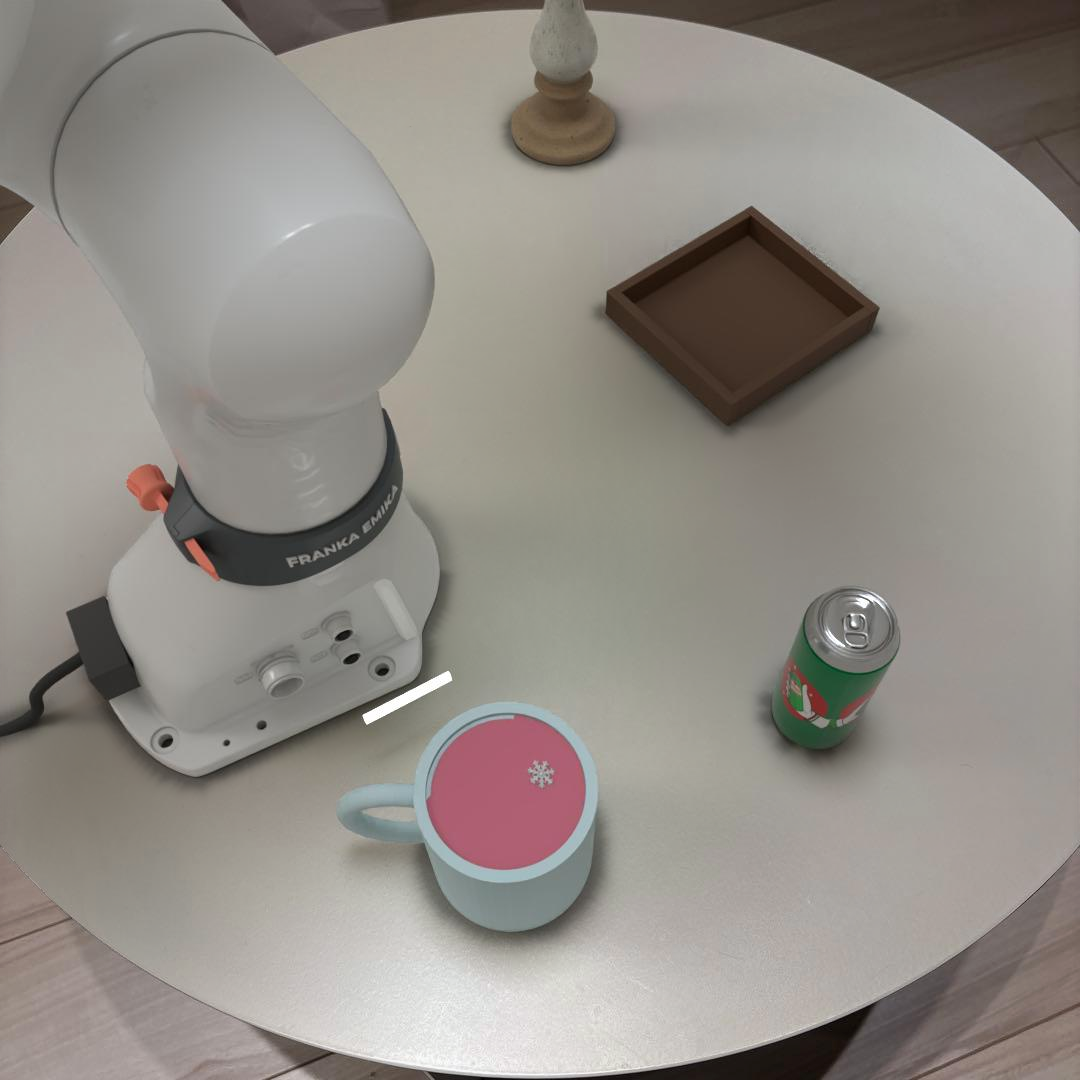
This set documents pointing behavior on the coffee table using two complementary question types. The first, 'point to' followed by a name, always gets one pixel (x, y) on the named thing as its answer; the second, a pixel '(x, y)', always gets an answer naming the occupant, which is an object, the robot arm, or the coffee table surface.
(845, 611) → the soda can
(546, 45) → the candle holder
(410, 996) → the coffee table surface
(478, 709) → the mug
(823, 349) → the tray
